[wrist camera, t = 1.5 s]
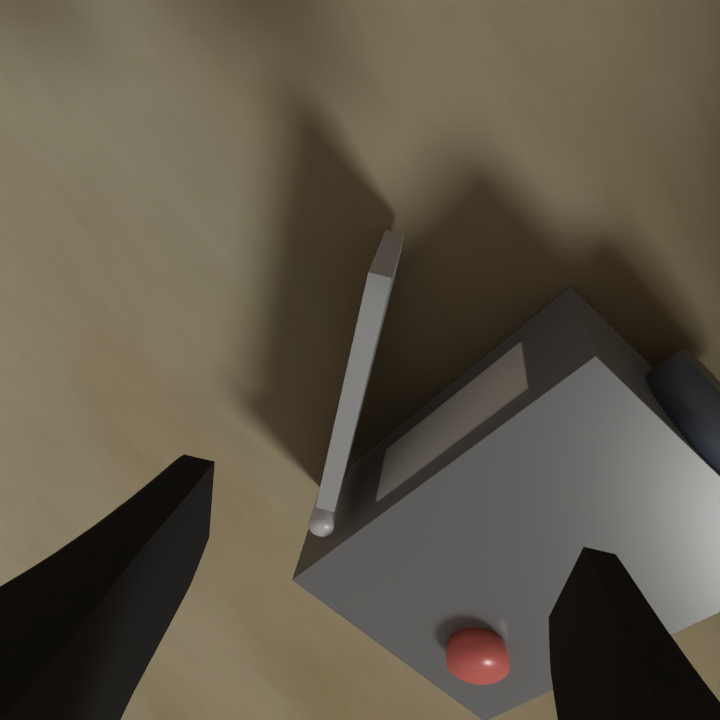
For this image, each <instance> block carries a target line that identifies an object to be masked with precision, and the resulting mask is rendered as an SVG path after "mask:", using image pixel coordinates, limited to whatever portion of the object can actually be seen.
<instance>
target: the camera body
mask: <svg viewBox="0 0 720 720" xmlns="http://www.w3.org/2000/svg"><path fill="white" fill-rule="evenodd" d="M583 547H587V548H591V549H596V550H600V551H604V552H609V553H613V554H616V555H617V557H618V558H619V560H620V561H621V562H622V564H623V565H624V567H625V568H626V570H627V571H628V573H629V574H630V576H631V577H632V579H633V580H634V582H635V583H636V585H637V586H638V588H639V589H640V591H641V592H642V594H643V595H644V597H645V598H646V600H647V601H648V603H649V604H650V606H651V607H652V609H653V610H654V612H655V613H656V615H657V616H658V618H659V619H660V621H661V622H662V624H663V625H664V626H665V628H666V629H667V631H668V632H669V634H670V635H671V634H674V633H676V632H678V631H680V630H682V629H684V628H686V627H689V626H691V625H693V624H695V623H697V622H699V621H702V620H704V619H706V618H708V617H710V616H712V615H714V614H717V613H719V612H720V382H719V381H718V380H717V379H716V377H715V376H714V375H713V374H712V373H711V372H710V371H709V370H708V369H707V368H706V367H705V366H704V365H703V364H702V363H701V362H700V361H699V360H698V359H697V358H696V357H695V356H694V355H692V354H691V353H690V352H689V351H687V350H686V349H684V348H682V349H681V350H679V351H678V352H676V353H675V354H674V355H672V356H671V357H669V358H668V359H666V360H665V361H663V362H662V363H661V364H659V365H658V366H656V367H655V368H653V367H652V366H651V365H650V364H649V363H648V362H647V361H646V360H645V359H644V358H643V357H642V356H641V355H640V354H639V353H638V352H637V351H636V350H635V349H634V348H633V347H632V346H631V345H630V344H629V343H628V342H627V341H626V340H625V339H624V338H623V337H622V336H621V335H620V334H619V333H618V332H617V331H616V330H615V329H614V328H613V327H612V326H611V325H610V324H609V323H608V322H607V321H606V320H605V319H604V318H603V317H602V316H601V315H600V314H599V313H598V312H597V311H596V310H595V309H594V308H593V307H592V306H590V305H589V304H588V303H587V302H586V301H585V300H584V299H583V298H582V297H581V296H580V295H579V294H578V293H577V292H576V291H575V290H574V289H573V288H572V287H571V286H570V287H569V288H567V289H566V290H565V291H564V292H563V293H561V294H560V295H559V296H558V297H556V298H555V299H554V300H553V301H552V302H550V303H549V304H548V305H547V306H545V307H544V308H543V309H542V310H541V311H539V312H538V313H537V314H536V315H534V316H533V317H532V318H531V319H530V320H528V321H527V322H526V323H525V324H523V325H522V326H521V327H520V328H518V329H517V330H516V331H515V332H514V333H512V334H511V335H510V336H509V337H507V338H506V339H505V340H504V341H503V342H501V343H500V344H499V345H498V346H496V347H495V348H494V349H493V350H492V351H490V352H489V353H488V354H487V355H485V356H484V357H483V358H482V359H481V360H479V361H478V362H477V363H476V364H474V365H473V366H472V367H471V368H469V369H468V370H467V371H466V372H465V373H463V374H462V375H461V376H460V377H458V378H457V379H456V380H455V381H454V382H452V383H451V384H450V385H449V386H447V387H446V388H445V389H444V390H443V391H441V392H440V393H439V394H438V395H436V396H435V397H434V398H433V399H432V400H430V401H429V402H428V403H427V404H425V405H424V406H423V407H422V408H421V409H419V410H418V411H417V412H416V413H414V414H413V415H412V416H411V417H409V418H408V419H407V420H406V421H405V422H403V423H402V424H401V425H400V426H398V427H397V428H396V429H395V430H394V431H392V432H391V433H390V434H389V435H387V436H386V437H385V438H384V439H383V440H381V441H380V442H379V443H378V444H376V445H375V446H374V447H373V448H372V449H370V450H369V451H368V452H367V453H365V454H364V455H363V456H362V457H360V458H359V459H358V460H357V461H356V462H354V463H353V464H352V465H351V466H350V470H349V474H348V477H347V481H346V485H345V488H344V492H343V496H342V499H341V503H340V507H339V511H338V514H337V518H336V522H335V525H334V529H333V532H332V533H331V534H330V535H329V536H325V537H320V536H317V535H315V534H313V533H312V532H311V531H310V530H309V529H308V532H307V536H306V539H305V542H304V545H303V548H302V551H301V554H300V557H299V561H298V564H297V567H296V570H295V573H294V576H293V579H292V580H293V581H294V582H296V583H297V584H299V585H300V586H301V587H303V588H304V589H305V590H307V591H308V592H309V593H311V594H312V595H314V596H315V597H316V598H318V599H319V600H320V601H322V602H323V603H324V604H326V605H327V606H328V607H330V608H331V609H333V610H334V611H335V612H337V613H338V614H339V615H341V616H342V617H343V618H345V619H346V620H347V621H349V622H350V623H352V624H353V625H354V626H356V627H357V628H358V629H360V630H361V631H362V632H364V633H365V634H366V635H368V636H369V637H371V638H372V639H373V640H375V641H376V642H377V643H379V644H380V645H381V646H383V647H384V648H385V649H387V650H388V651H390V652H391V653H392V654H394V655H395V656H396V657H398V658H399V659H400V660H402V661H403V662H405V663H406V664H407V665H409V666H410V667H411V668H413V669H414V670H415V671H417V672H418V673H419V674H421V675H422V676H424V677H425V678H426V679H428V680H429V681H430V682H432V683H433V684H434V685H436V686H437V687H438V688H440V689H441V690H443V691H444V692H445V693H447V694H448V695H449V696H451V697H452V698H453V699H455V700H456V701H457V702H459V703H460V704H462V705H463V706H464V707H466V708H467V709H468V710H470V711H471V712H472V713H474V714H475V715H476V716H478V717H479V718H481V719H482V720H488V719H491V718H493V717H495V716H497V715H499V714H501V713H503V712H506V711H508V710H510V709H512V708H514V707H516V706H519V705H521V704H523V703H525V702H527V701H529V700H531V699H534V698H536V697H538V696H540V695H542V694H544V693H547V692H549V691H551V690H553V685H552V678H551V670H550V650H549V616H550V614H551V612H552V609H553V607H554V605H555V603H556V601H557V599H558V597H559V595H560V593H561V591H562V589H563V587H564V585H565V583H566V581H567V579H568V577H569V575H570V573H571V571H572V569H573V567H574V565H575V563H576V561H577V559H578V557H579V555H580V553H581V551H582V549H583Z"/></svg>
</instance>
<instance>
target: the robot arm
mask: <svg viewBox="0 0 720 720" xmlns="http://www.w3.org/2000/svg"><path fill="white" fill-rule="evenodd" d="M213 476H214V461H209V460H205V459H201V458H196V457H192V456H188V455H183V456H181V457H179V458H178V459H177V460H175V461H174V462H173V463H172V464H171V465H170V466H168V467H167V468H166V469H165V470H164V471H163V472H161V473H160V474H159V475H158V476H157V477H155V478H154V479H153V480H152V481H151V482H149V483H148V484H147V485H146V486H145V487H143V488H142V489H141V490H140V491H138V492H137V493H136V494H135V495H133V496H132V497H131V498H130V499H128V500H127V501H126V502H125V503H123V504H122V505H121V506H119V507H118V508H117V509H115V510H114V511H113V512H112V513H110V514H109V515H108V516H106V517H105V518H104V519H102V520H101V521H100V522H98V523H97V524H96V525H94V526H93V527H92V528H90V529H89V530H87V531H86V532H84V533H83V534H82V535H80V536H79V537H77V538H76V539H74V540H73V541H71V542H70V543H69V544H67V545H66V546H64V547H63V548H61V549H60V550H58V551H57V552H56V553H54V554H52V555H51V556H49V557H48V558H46V559H45V560H43V561H42V562H40V563H39V564H37V565H35V566H34V567H32V568H30V569H29V570H27V571H26V572H24V573H22V574H21V575H19V576H17V577H16V578H14V579H12V580H10V581H9V582H7V583H5V584H4V585H2V586H0V720H120V719H121V717H122V715H123V713H124V711H125V709H126V707H127V705H128V703H129V700H130V698H131V696H132V694H133V692H134V690H135V688H136V687H137V685H138V683H139V681H140V679H141V677H142V675H143V673H144V672H145V670H146V668H147V666H148V664H149V662H150V660H151V658H152V657H153V655H154V653H155V651H156V649H157V647H158V645H159V643H160V642H161V640H162V638H163V636H164V634H165V632H166V630H167V629H168V627H169V625H170V623H171V621H172V619H173V617H174V615H175V613H176V612H177V610H178V608H179V606H180V604H181V602H182V600H183V598H184V596H185V594H186V592H187V591H188V589H189V587H190V585H191V582H192V580H193V577H194V575H195V572H196V570H197V567H198V565H199V562H200V559H201V557H202V554H203V552H204V549H205V546H206V544H207V541H208V539H209V530H210V517H211V503H212V490H213ZM549 650H550V670H551V678H552V685H553V691H554V698H555V704H556V710H557V717H558V720H720V702H719V701H718V699H717V698H716V697H715V695H714V694H713V693H712V692H711V690H710V689H709V688H708V686H707V685H706V684H705V682H704V681H703V680H702V678H701V677H700V676H699V674H698V673H697V672H696V670H695V669H694V668H693V666H692V665H691V663H690V662H689V661H688V659H687V658H686V656H685V655H684V654H683V652H682V651H681V649H680V648H679V647H678V645H677V644H676V642H675V641H674V639H673V638H672V637H671V635H670V634H669V632H668V631H667V629H666V628H665V626H664V625H663V624H662V622H661V621H660V619H659V618H658V616H657V615H656V613H655V612H654V610H653V609H652V607H651V606H650V604H649V603H648V601H647V600H646V598H645V597H644V595H643V594H642V592H641V591H640V589H639V588H638V586H637V585H636V583H635V582H634V580H633V579H632V577H631V576H630V574H629V573H628V571H627V570H626V568H625V567H624V565H623V564H622V562H621V561H620V560H619V558H618V557H617V555H616V554H613V553H609V552H604V551H600V550H596V549H591V548H587V547H583V549H582V551H581V553H580V555H579V557H578V559H577V561H576V563H575V565H574V567H573V569H572V571H571V573H570V575H569V577H568V579H567V581H566V583H565V585H564V587H563V589H562V591H561V593H560V595H559V597H558V599H557V601H556V603H555V605H554V607H553V609H552V612H551V614H550V616H549Z"/></svg>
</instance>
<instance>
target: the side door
mask: <svg viewBox="0 0 720 720" xmlns="http://www.w3.org/2000/svg"><path fill="white" fill-rule="evenodd" d="M404 238H405V234H401V233H397V232H393V231H389V230H385V232H384V235H383V237H382V240H381V242H380V245H379V247H378V250H377V252H376V255H375V257H374V259H373V262H372V264H371V267H370V269H369V272H368V276H367V280H366V285H365V289H364V294H363V298H362V303H361V307H360V312H359V316H358V321H357V325H356V329H355V334H354V338H353V343H352V347H351V352H350V356H349V361H348V365H347V370H346V374H345V379H344V383H343V387H342V392H341V396H340V401H339V405H338V410H337V414H336V419H335V423H334V428H333V432H332V437H331V441H330V446H329V450H328V454H327V459H326V463H325V468H324V472H323V477H322V481H321V486H320V489H319V493H318V496H317V499H316V502H315V505H314V508H313V511H312V514H311V517H310V520H309V523H308V527H309V530H310V531H311V532H312V533H313V534H315V535H317V536H320V537H325V536H329V535H330V534H331V533H332V532H333V529H334V525H335V522H336V518H337V514H338V511H339V507H340V503H341V499H342V496H343V492H344V488H345V485H346V481H347V477H348V474H349V470H350V466H351V463H352V459H353V451H352V447H353V444H354V440H355V436H356V431H357V427H358V423H359V419H360V415H361V411H362V407H363V403H364V399H365V395H366V391H367V387H368V383H369V379H370V375H371V371H372V367H373V363H374V359H375V355H376V351H377V347H378V343H379V339H380V335H381V331H382V327H383V323H384V319H385V315H386V311H387V307H388V303H389V299H390V294H391V290H392V286H393V282H394V278H395V274H396V270H397V266H398V262H399V258H400V254H401V250H402V246H403V242H404Z"/></svg>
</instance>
